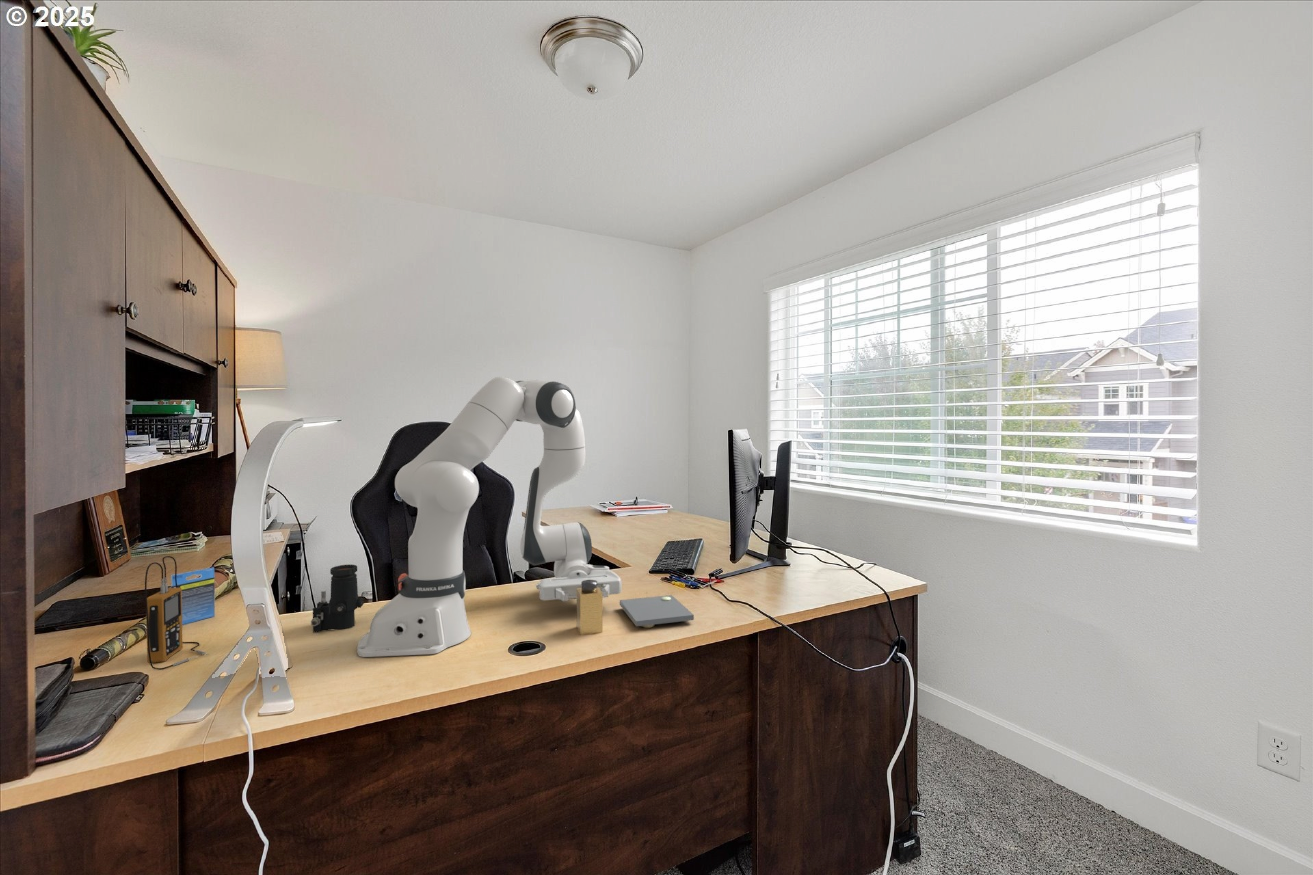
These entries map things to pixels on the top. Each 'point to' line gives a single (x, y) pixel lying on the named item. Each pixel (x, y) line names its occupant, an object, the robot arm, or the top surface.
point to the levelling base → (655, 610)
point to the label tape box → (196, 595)
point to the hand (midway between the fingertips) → (585, 595)
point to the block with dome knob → (589, 608)
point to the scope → (338, 601)
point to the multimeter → (164, 621)
